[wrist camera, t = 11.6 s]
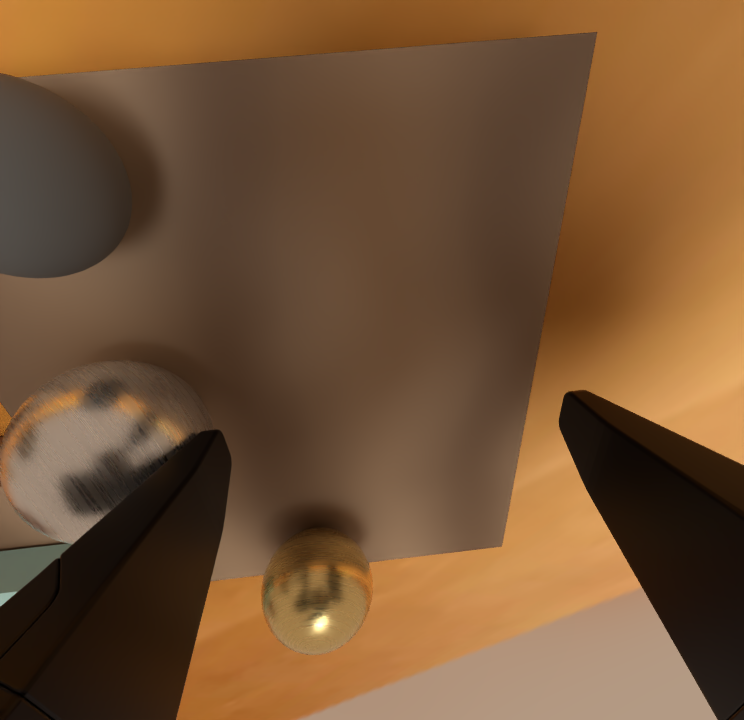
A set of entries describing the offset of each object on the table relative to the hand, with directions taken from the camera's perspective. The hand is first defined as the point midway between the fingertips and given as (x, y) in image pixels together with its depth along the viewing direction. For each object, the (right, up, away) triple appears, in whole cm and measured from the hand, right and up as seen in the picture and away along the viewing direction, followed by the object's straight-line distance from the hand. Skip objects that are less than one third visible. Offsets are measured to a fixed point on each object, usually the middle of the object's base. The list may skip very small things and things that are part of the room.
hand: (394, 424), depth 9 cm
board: (-7, +1, +4) cm, 8 cm away
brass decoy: (-2, -6, +4) cm, 8 cm away
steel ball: (-6, -1, 0) cm, 6 cm away
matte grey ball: (-6, +4, -3) cm, 8 cm away
